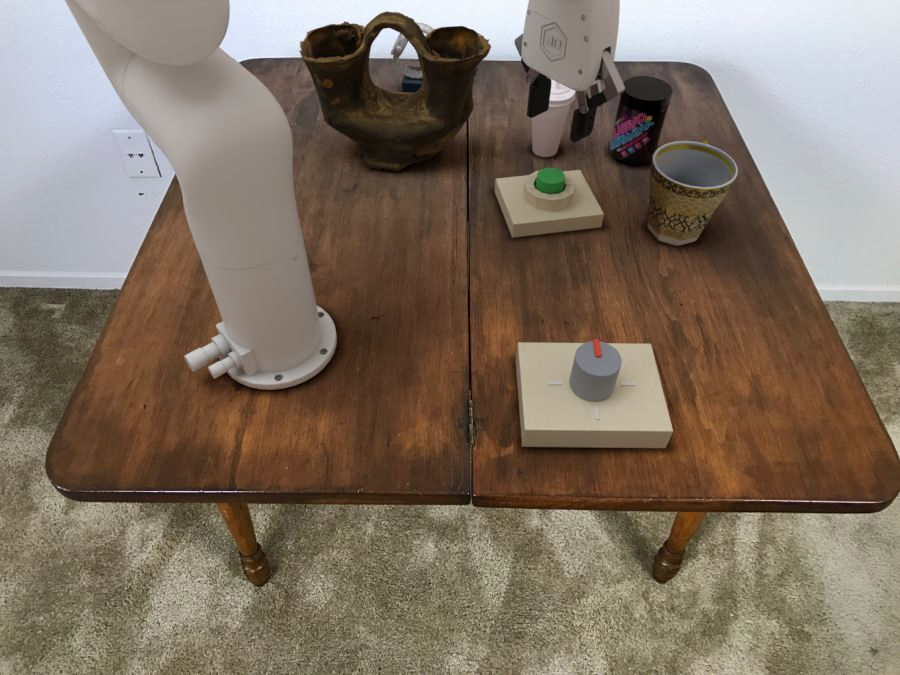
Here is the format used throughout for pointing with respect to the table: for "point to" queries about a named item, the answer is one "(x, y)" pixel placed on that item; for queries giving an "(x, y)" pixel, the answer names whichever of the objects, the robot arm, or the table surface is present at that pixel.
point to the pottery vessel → (387, 112)
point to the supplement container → (639, 119)
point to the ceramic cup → (687, 189)
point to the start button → (550, 181)
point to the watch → (411, 74)
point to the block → (547, 205)
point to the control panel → (590, 422)
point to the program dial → (595, 370)
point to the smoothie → (551, 121)
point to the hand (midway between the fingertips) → (558, 124)
